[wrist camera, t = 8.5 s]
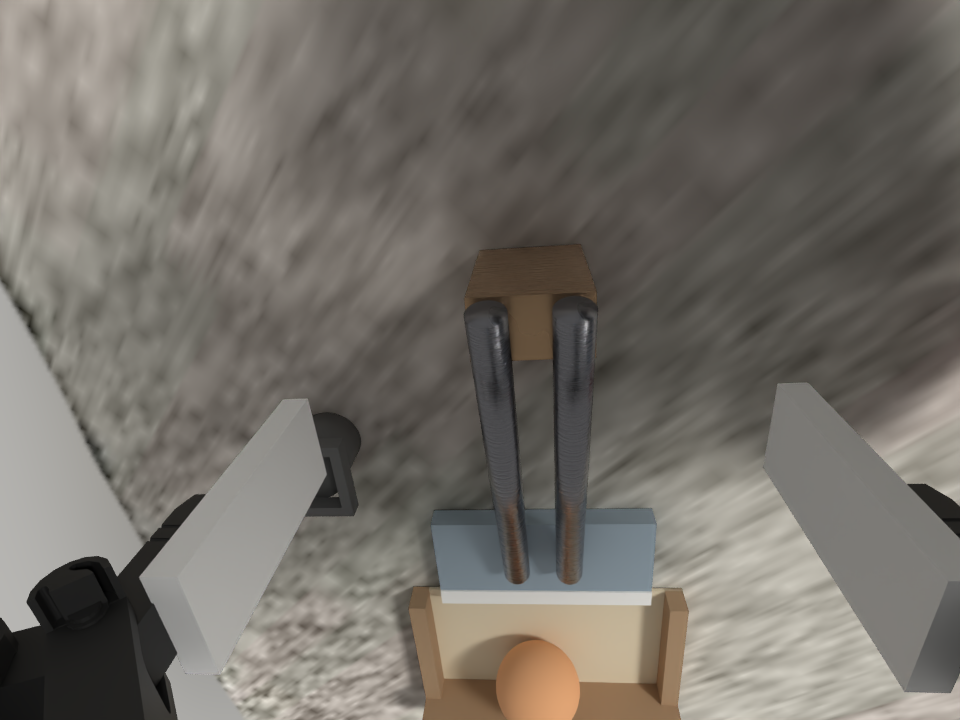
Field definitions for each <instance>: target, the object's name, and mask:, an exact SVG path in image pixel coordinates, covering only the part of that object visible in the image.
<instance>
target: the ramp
mask: <svg viewBox="0 0 960 720" xmlns="http://www.w3.org/2000/svg"><path fill="white" fill-rule="evenodd" d="M464 301H465V312H464V321H465V327H466V334H467V340H468V346H469V353H470V362H471V365H472V372H473V378H474V384H475V391H476V397H477V403H478V410H479V416H480V422H481V429H482V435H483V441H484V448H485V454H486V460H487V467H488V473H489V479H490V486H491V492H492V498H493V505H494V511H495V517H496V524H497V530H498V536H499V542H500V549H501V555H502V561H503V568H504V574H505V577H506V579H507V580H508V581H509V582H510V583H512V584H522V583H524V582H526V581H527V580H528V578H529V576H530V565H529V554H528V542H527V530H526V519H525V507H524V496H523V484H522V473H521V461H520V449H519V438H518V426H517V415H516V403H515V392H514V380H513V368H512V361H519V360H545V359H553V392H554V461H555V530H556V574H557V577H558V579H559V580H560V581H561V582H562V583H564V584H567V585H573V584H576V583H578V582H579V581H580V579H581V578H582V573H583V556H584V539H585V521H586V504H587V487H588V470H589V453H590V436H591V419H592V402H593V385H594V368H595V358H596V334H597V317H598V308H597V291H596V288H595V285H594V282H593V279H592V276H591V273H590V271H589V268H588V265H587V262H586V259H585V256H584V253H583V250H582V247H581V245H580V244H574V245H557V246H541V247H524V248H508V249H491V250H480V251H479V254H478V257H477V260H476V263H475V266H474V269H473V273H472V276H471V279H470V282H469V285H468V288H467V291H466V294H465V298H464Z"/></svg>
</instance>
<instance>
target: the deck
mask: <svg viewBox="0 0 960 720" xmlns="http://www.w3.org/2000/svg"><path fill="white" fill-rule="evenodd" d="M525 519H526V530H527V542H528V554H529V565H530V576H529V578H528V580H527V581H526V582H524V583H522V584H512V583H510V582H509V581H508V580H507V579H506V577H505V574H504V568H503V561H502V555H501V549H500V542H499V536H498V530H497V524H496V517H495V511H494V510H434V513H433V518H432V522H431V531H432V537H433V543H434V550H435V556H436V563H437V569H438V575H439V582H440V588H441V597H442V603H452V604H554V605H651V599H652V580H653V566H654V553H655V540H656V526H657V523H656V520H655V517H654V513H653V510H652V508H647V509H586V521H585V539H584V556H583V573H582V578H581V579H580V581H579V582H578V583H576V584H573V585H567V584H564V583H562V582H561V581H560V580H559V579H558V577H557V574H556V530H555V509H535V510H525Z"/></svg>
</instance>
